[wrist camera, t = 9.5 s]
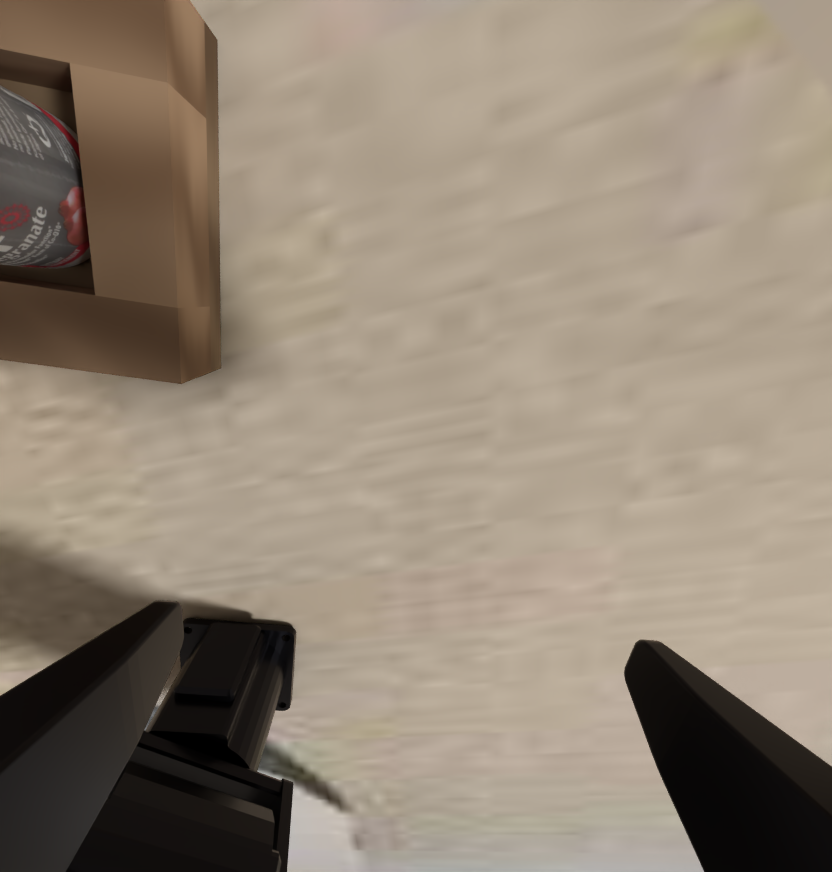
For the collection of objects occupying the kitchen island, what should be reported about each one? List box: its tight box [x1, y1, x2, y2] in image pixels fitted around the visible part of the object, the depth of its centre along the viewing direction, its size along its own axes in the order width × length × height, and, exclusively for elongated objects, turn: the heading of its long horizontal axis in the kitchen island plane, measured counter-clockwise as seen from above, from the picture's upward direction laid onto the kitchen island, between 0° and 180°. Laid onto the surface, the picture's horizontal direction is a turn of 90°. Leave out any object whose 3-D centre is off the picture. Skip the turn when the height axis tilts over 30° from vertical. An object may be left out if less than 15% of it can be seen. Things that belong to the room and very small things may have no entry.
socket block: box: [0, 0, 221, 384], centre depth 14 cm, size 12×12×4 cm
